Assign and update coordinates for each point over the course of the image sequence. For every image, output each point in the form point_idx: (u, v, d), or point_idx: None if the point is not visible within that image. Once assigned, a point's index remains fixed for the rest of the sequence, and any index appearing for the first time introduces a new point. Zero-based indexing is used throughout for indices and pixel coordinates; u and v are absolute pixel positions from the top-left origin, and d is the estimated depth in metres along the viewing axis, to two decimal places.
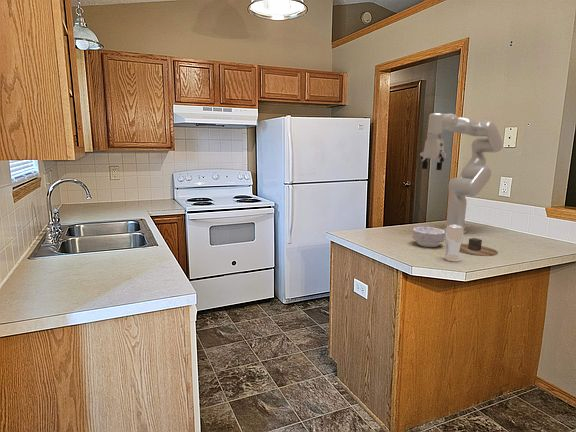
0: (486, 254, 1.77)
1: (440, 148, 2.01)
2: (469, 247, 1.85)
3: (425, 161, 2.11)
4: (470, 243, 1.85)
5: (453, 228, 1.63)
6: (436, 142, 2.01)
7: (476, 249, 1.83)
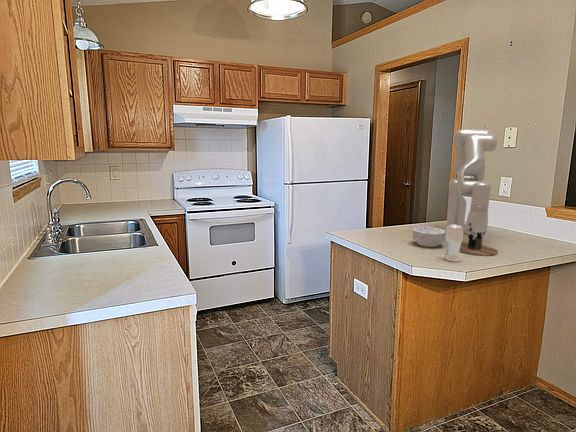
0: (486, 253, 1.76)
1: None
2: None
3: None
4: None
5: (453, 228, 1.63)
6: (487, 215, 1.82)
7: (476, 248, 1.82)
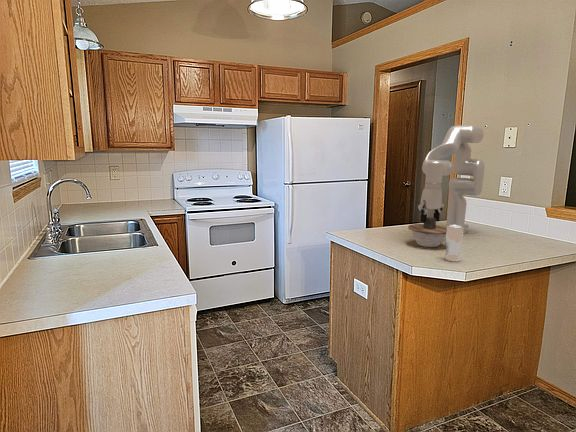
0: (438, 232, 1.83)
1: None
2: (424, 226, 1.91)
3: None
4: None
5: (453, 228, 1.63)
6: (441, 192, 1.88)
7: (430, 227, 1.89)
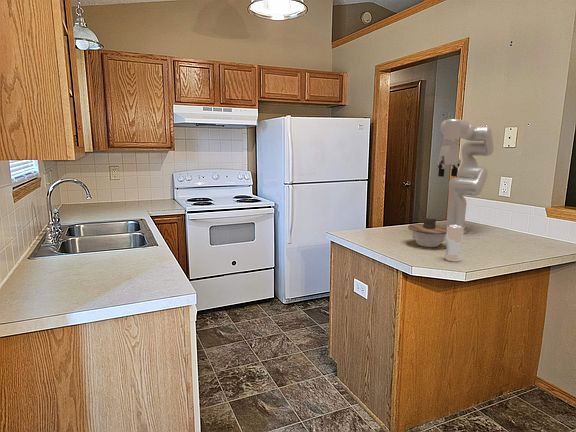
0: (438, 231, 1.83)
1: None
2: (424, 226, 1.92)
3: None
4: (425, 222, 1.91)
5: (453, 228, 1.63)
6: (458, 149, 2.01)
7: (430, 227, 1.89)
